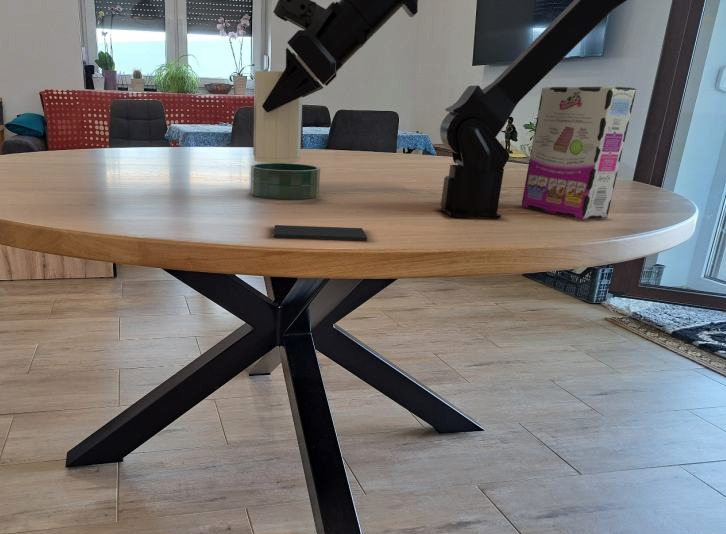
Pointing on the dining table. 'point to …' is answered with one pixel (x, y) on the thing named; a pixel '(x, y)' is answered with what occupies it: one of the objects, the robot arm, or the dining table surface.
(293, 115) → the cup
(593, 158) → the candy bar box
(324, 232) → the mat
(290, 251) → the dining table surface
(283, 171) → the bowl
